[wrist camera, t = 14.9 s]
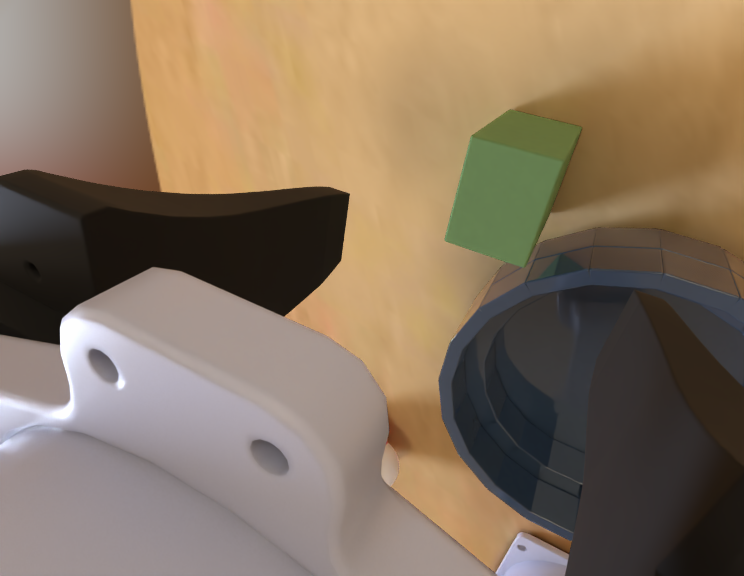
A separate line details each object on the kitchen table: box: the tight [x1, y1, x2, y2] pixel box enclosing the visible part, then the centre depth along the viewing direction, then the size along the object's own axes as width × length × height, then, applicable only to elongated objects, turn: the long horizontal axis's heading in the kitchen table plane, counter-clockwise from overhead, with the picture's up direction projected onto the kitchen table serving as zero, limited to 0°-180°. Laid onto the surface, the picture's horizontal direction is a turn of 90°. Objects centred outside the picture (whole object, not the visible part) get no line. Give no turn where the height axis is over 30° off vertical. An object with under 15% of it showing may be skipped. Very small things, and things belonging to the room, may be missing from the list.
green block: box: [445, 110, 582, 268], centre depth 17 cm, size 4×3×6 cm
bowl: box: [439, 227, 744, 541], centre depth 20 cm, size 13×13×4 cm
